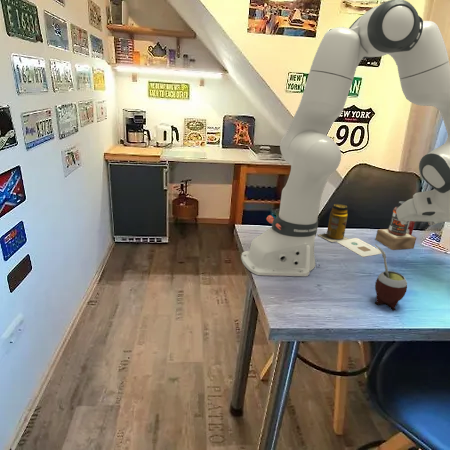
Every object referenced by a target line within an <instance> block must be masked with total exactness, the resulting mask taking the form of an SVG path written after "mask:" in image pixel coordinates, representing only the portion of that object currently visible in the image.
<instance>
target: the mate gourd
mask: <svg viewBox="0 0 450 450" xmlns="http://www.w3.org/2000/svg"><path fill="white" fill-rule="evenodd" d="M374 245H375V246H376V247H375V248H377V249H379V250H380V251H381V253H382V254H381V257H382V259H383V263H384V271H383V272H381V273H380V274H378V275H377V276H378V277H377V278H376V281H375V285H374V289H375V292H376V295H375V296H376V301H375V302H374V305H376V306H384V305H385V306H386V307H388V308H389V309H390V310H391V311H393V312H394V311H396V306H397V304H399V302H400V301H401V300H403V298H404V297H405V295H406V292H407V291H408V290H407V289H408V282H407V279H406V277H405V275H403V274H401V273H399V272H397V271H393V270H389V269H388V264H387V256H386V252H385V251H384V250H383V249H382V248H381V247H380V246H379V245H377V243H375V244H374ZM384 252H385V253H384Z"/></svg>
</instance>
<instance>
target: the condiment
mask: <svg viewBox="0 0 450 450" xmlns="http://www.w3.org/2000/svg"><path fill="white" fill-rule="evenodd" d="M348 209H349V207H348V206H347V205H345V204H341V203H334V204H332V208H331V211H330V213H329V217H328V223H327V230H326V233H319V234H318V236H319V237H320V238H322V239H325V240H327V241H329V242H331V243H334V242H335V243H336V241H341V240H346V239H350V238H348V237H346V236H345V232H346V226H347V223H348V222H347V221H348Z"/></svg>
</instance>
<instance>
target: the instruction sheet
mask: <svg viewBox="0 0 450 450" xmlns="http://www.w3.org/2000/svg"><path fill="white" fill-rule="evenodd" d="M335 243H337V244H339V245H341V246H342V247H345V248H346V249H348V250H350V251H351V252H353V253H355V254H356V255H358V256H359V257H362V258H365V257H366V258H367V257H370V256H375V255H382V253H381V251H380V250H379V249H378V248H377V247H375V246H373V245H371V244H369V243H368V242H365V241H363V240H362V239H360V238H358V237H353V238H349V239H346V240H341V241H335ZM384 253H385V254H386V252H385V251H384Z"/></svg>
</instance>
